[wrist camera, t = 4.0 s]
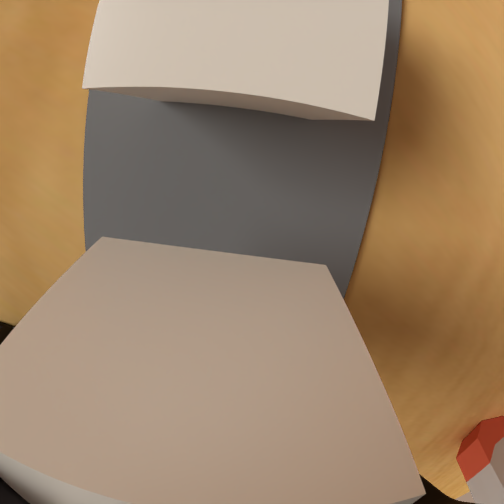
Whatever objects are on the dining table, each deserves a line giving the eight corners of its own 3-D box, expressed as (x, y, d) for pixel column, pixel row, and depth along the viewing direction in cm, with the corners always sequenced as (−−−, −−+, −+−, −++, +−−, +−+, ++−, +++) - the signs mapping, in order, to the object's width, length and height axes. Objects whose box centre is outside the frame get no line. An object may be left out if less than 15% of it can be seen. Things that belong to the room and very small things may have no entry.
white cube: (281, 408, 12) (297, 565, 5) (120, 387, 11) (74, 535, 5) (325, 264, 9) (426, 493, 3) (102, 236, 8) (-52, 418, 2)
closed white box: (311, 119, 12) (374, 120, 6) (159, 101, 12) (82, 88, 6) (330, -9, 10) (389, -83, 3) (184, -27, 9) (144, -110, 3)
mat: (316, 368, 19) (317, 371, 18) (99, 340, 18) (98, 343, 17) (400, -28, 9) (402, -30, 9) (130, -62, 8) (128, -64, 8)
